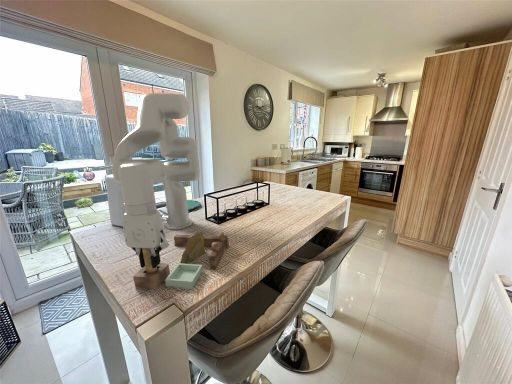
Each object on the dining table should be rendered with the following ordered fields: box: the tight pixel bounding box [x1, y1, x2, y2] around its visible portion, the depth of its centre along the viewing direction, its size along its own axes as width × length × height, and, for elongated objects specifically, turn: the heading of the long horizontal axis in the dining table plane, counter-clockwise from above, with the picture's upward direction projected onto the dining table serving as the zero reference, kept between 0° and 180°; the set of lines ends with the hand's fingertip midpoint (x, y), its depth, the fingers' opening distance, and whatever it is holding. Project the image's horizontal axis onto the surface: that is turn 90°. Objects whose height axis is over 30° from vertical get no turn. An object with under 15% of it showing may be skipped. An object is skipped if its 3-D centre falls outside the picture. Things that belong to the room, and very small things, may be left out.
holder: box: [133, 262, 171, 291], centre depth 65 cm, size 7×7×4 cm
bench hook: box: [173, 232, 230, 271], centre depth 78 cm, size 22×16×7 cm
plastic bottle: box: [104, 173, 126, 228], centre depth 108 cm, size 15×15×28 cm
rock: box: [179, 231, 206, 264], centre depth 76 cm, size 11×9×10 cm
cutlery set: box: [158, 199, 202, 217], centre depth 127 cm, size 20×30×2 cm, turn 136°
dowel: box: [142, 248, 157, 274], centre depth 64 cm, size 3×3×12 cm
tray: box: [164, 262, 204, 290], centre depth 65 cm, size 8×8×2 cm
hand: (150, 264), depth 64 cm, fingers closed on dowel, 3 cm apart
